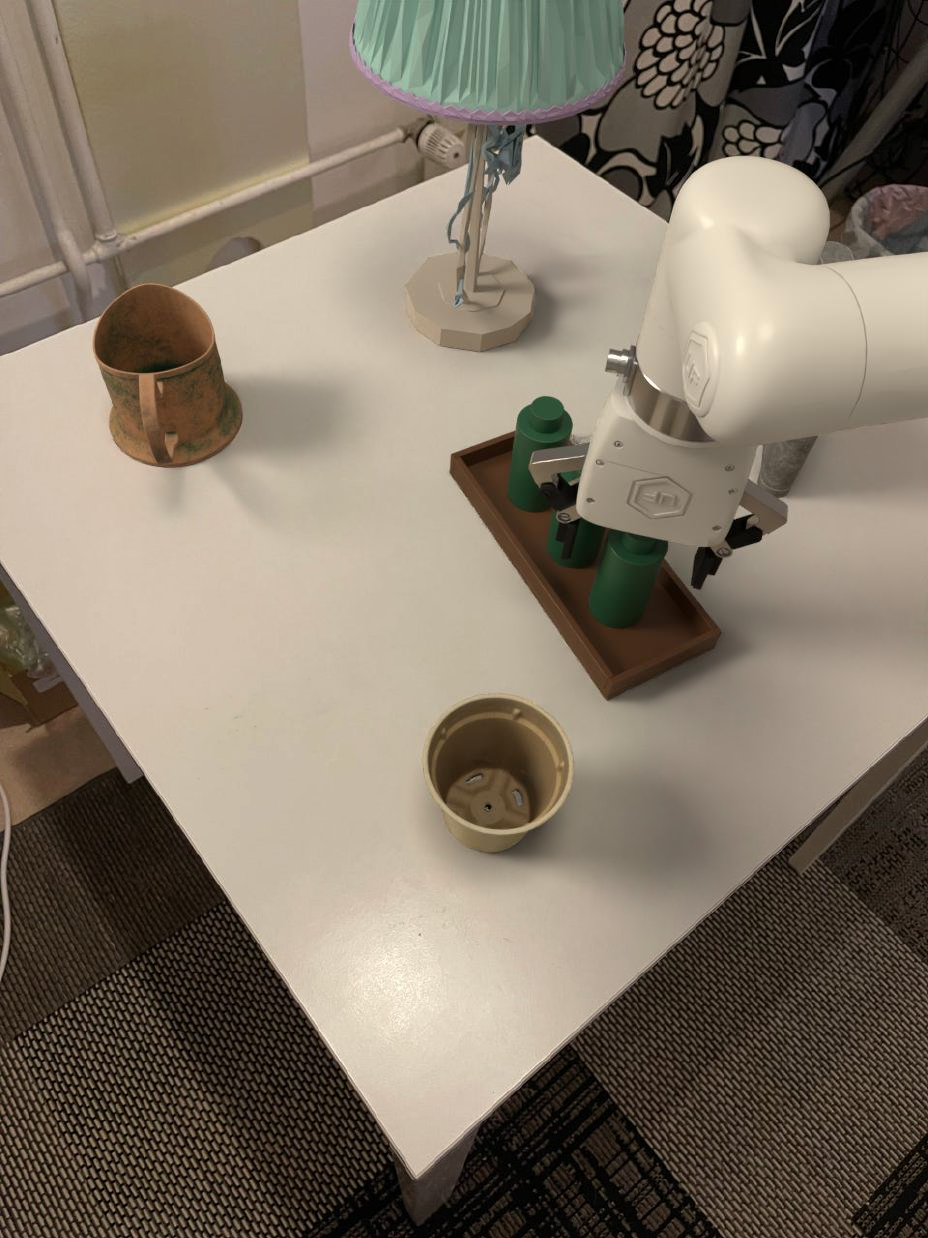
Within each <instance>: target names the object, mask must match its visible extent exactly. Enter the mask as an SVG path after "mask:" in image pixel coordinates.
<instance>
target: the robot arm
mask: <svg viewBox="0 0 928 1238" xmlns="http://www.w3.org/2000/svg"><path fill="white" fill-rule="evenodd" d="M830 227H831V212H830V208H829V204H828V201H827V198H826V196H825V195H824V193H823V191H822V190H821V189H820V188H819V186H818V185H817V183H815V182H814V181H813V180H812V179H811V178H810V177H809V176H808V175H806V174H805V173H804V172H802V171H801V170H799V169H797V168H796V167H793V166H790V165H789V164H786V163H784V162H781V161H778V160H776V159H773V158H768V157H763V156H762V157H761V156H754V155H733V156H728V157H722V158H719V159H715V160H712V161H710V162H708V163H706V164H704V165H702V166H701V167H699V168H698V169H697V170H695V171H694V172H693V173H691V175H690V176H689V177H688V178H687V179H686V180H685V182H684V183H683V185H682V186H681V187H680V190H679V192H678V193H677V196H676V198H675V200H674V203H673V206H672V211H671V214H670V218H669V221H668V225H667V229H666V233H665V237H664V240H663V245H662V247H661V251H660V255H659V259H658V263H657V267H656V271H655V274H654V279H653V281H652V286H651V289H650V293H649V296H648V301H647V306H646V308H645V311H644V316H643V319H642V323H641V326H640V331H639V333H638V336H637V340H636V342H635V345H633V344H631V345H630V347H629V349H627V348H622V350H619V349H614V348H609V351H608V356H607V360H606V364H605V368H604V372H605V373H606V372H607V373H611V374H615V375H616V377H617V379H616V380H615V383H614V384H613V386H612V388H611V390H610V392H609V393H608V396H607V397H606V400H605V402H604V404H603V407H602V409H601V411H600V413H599V416H598V418H597V421H596V423H595V426H594V428H593V429H594V430H593V432H592V435H591V438H590V441H589V442H586V443H578V444H574V445H571V446H564V447H557V448H550V449H543V450H537V451H534V452H533V453H532V456H531V460H530V463H529V467H528V468H529V470H530V472H531V474H532V476H533V478H534V480H535V482H536V484H538V486H539V488H540V489H539V494H540V495H541V496H542V497H543V498H544V499H545V500H546V501H547V502H548V503H549V504H550V505H551V506H552V507H553V509H554V510H555V511H556V512H557V514H556V518H557V520H558V521H559V525H558V530H557V534H556V539H555V541H559V542H564V547H563V551H562V555H561V559H564V560H568V559H571V555H572V551H573V547H574V543H575V539H576V535H577V531H578V527H579V523H580V518H581V517H582V518H584V519H585V520H587V521H589V522H591V523H594V524H596V525H600V526H603V527H607V528H612V529H616V530H620V531H624V532H629V533H633V534H638V535H642V536H647V537H651V538H656V539H661V540H665V541H668V542H670V543H676V544H680V545H685V546H690V547H697V549H696V551H695V553H694V556H693V557H694V558H693V565H692V573H691V579H690V586H691V587H692V589H694V590H699V591H700V590H702V587H703V585H704V583H705V582H706V579H707V577H708V576H713V577H714V576H716V574H717V572H718V569H719V568H720V566H721V564H722V562H723V560H724V559H727V558H730V557H732V555H733V553H734V551H735V550H739V549H741V548H743V547H744V548H745V547H748V546H751V545H754V544H757V543H760V542H761V541H762V540H763V537H764V536H765V535H770V534H771V533H773V532H774V531H776V530H778V529H780V528H781V527H783V526H784V525H786V524H787V523H788V516H789V506H788V504H787V503H786V502H784V501H783V500H781V499H780V498H777V497H775V496H774V495H772V494H771V493H769V492H768V491H766V490H765V489H763V488H762V487H760V486H759V485H757V482H756V483H755V482H754V481H753V480H751V479H749V478H750V475H751V471H752V468H753V464H754V461H755V458H756V455H757V450H758V447H759V446H763V445H764V444H770V443H775V442H781V441H788V440H794V439H800V438H806V437H812V436H818V435H819V436H823V435H827V434H830V433H831V434H832V433H837V432H844V431H849V430H856V429H863V428H867V427H873V426H874V427H875V426H879V425H885V424H894V423H899V422H901V423H902V422H908V421H914V420H920V419H921V420H922V419H928V251H922V252H921V251H920V252H914V253H912V252H911V253H905V254H895V255H894V254H893V255H884V256H876V257H868V258H861V259H860V258H859V259H855V260H852V261H845V262H837V263H829V264H821V265H817V262H818V260H819V258H820V256H821V253H822V251H823V248H824V246H825V242H827V240H828V235H829V233H830ZM819 436H818V437H819ZM579 470H582V473H581V477H579V478H577V479H575V480H573V481H571V482H569V483H568V482H567V481H566V480H565V479H564V478H563V477H562V476H561V475H560V474H559V473H563V472H571V471H579ZM739 507H741V508H743V509H745V510H746V511H748V512H749V513H750V514H746V515H744V516H741V517H737V518H735V517H736V514H737V512H738V509H739Z"/></svg>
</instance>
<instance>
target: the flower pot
mask: <svg viewBox="0 0 928 1238" xmlns="http://www.w3.org/2000/svg"><path fill="white" fill-rule="evenodd" d="M571 744H572V743H571V742H570V741H569V737H568V736H567V734H566V732H565V730H564V729H563V728H562V726H561V724H560V723H559V722H558V721H557V720H556V718H555V717H554V716H553V715H552V714H550V713H549V712H548V711H546V710H545V709H544V708H543V707H542V706H540V705H538V703H535V702H534V701H532V700H529V699H527V698H524V697H523V696H518V695H514V694H509V693H501V692H491V693H482V694H481V693H480V694H478V695H474V696H470V697H467V698H465V699H463V700H461V701H459V702H456V703H455V704H453V705H451V706H450V707H449V708H448V709H446V710H445V711H444V712H443V713H442V714H441V715H440V716H439V717H438V719H437V720H436V721H435V722H434V724H433V725H432V726H431V728H430V729H429V732H428V733H427V737H426V739H425V742H424V746H423V750H422V769H423V770H422V771H423V776H424V780H425V783H426V786H427V789H428V791H429V792H430V795H431V797H432V799H433V800H434V801H435V803H436V804H437V805H438V807H439V808H440V809H441V810H442V814H443V818H444V819H443V820H444V822H445V825H446V827H447V829H448V831H449V832H450V833H451V835H452V836H453V837H454V838H455V839H456V841H458V842H459V843H460V844H461V845H464V846H466V847H468V848H470V849H472V850H475V851H478V852H481V853H498V852H502V851H505V850H508V849H510V848H512V847H514V846H515V845H516V844H518V843H519V842H520V841H521V840H522V839H523V838H524V837H525V836H526V834H527V833H528V832H530V831H532V830H535V829H537V828H539V827H540V826H542V825H544V824H545V823H546V822H548V821H549V820H550V819H551V818H553V817H554V816H555V815H556V814H557V813H558V811H559V810H560V809H561V808H562V806H563V805H564V803H565V802H566V800H567V798H568V796H569V794H570V792H571V789H572V786H573V782H574V781H573V780H574V777H575V756H574V752H573V749H572V745H571ZM479 775H482V778H481V779H478V780H474V781H471V782H469V783H468V781H469V780H470V779H472V778H474V777H476V776H479ZM514 791H518V792H519V794H520V796H521V800H522V804H519V802H518V801H517V799H516V796H515V794H514V793H513V792H514ZM487 805H489V806H490V809H487V808H486V806H487Z"/></svg>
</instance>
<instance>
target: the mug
mask: <svg viewBox="0 0 928 1238" xmlns="http://www.w3.org/2000/svg"><path fill="white" fill-rule="evenodd" d="M92 351H93V355H94V358H95V361H96V363H97V364H98V368H99V371H100V374H101V377H102V380H103V382H104V384H105V387H106V389H107V392H108V394H109V397H110V400H111V404H112V407H111V409H110V412H109V415H108V416H109V417H108V427H109V432H110V434H111V437H112V439H113V442H114V443H115V444H116V446H117V447H118V449H120V450H121V452H122V453H124V454H125V455H126V456H127V457H129V458H131V459H133V460H135V461H137V462H139V463H142V464H145V465H149V466H153V467H162V468H177V467H184V466H190V465H195V464H197V463H200V462H203V461H206V460H208V459H210V458H212V457H214V456H216V455H218V454H219V453H221V451H223V450H225V448H227V447H228V446H229V445H230V444H231V443H232V442H233V440H234V439H235V438H236V436H237V434H238V433H239V430H240V428H241V426H242V422H243V408H242V401H241V400H240V397H239V395H238V394H237V392H236V390H235V389H234V388H233V387H232V386H231V385H230V384H229V383H228V382H226V380H225V375H224V370H223V365H222V359H221V356H220V352H219V347H218V344H217V342H216V334H215V329H214V325H213V323H212V321H211V319H210V316H209V315H208V314H207V312H206V311H205V310H204V308H203V307H202V306H201V305H200V304H199V303H198V302H197V301H196V300H195V299H193V298H192V297H190V296H189V295H187V294H185V293H184V292H182V291H181V290H179V289H177V288H174V287H171V286H169V285H166V284H162V283H155V282H147V283H142V284H138V285H135V286H133V287H131V288H129V289H127V290H125V291H123V292H122V293H121V294H120V295H119V296H116V298H115V299H114V300H113V301H111V302H110V304H108V305H107V307H106V308H105V309H104V310H103V312H102V314H101V315H100V317H99V319H98V320H97V323H96V325H95V327H94V331H93V336H92Z"/></svg>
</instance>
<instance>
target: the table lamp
mask: <svg viewBox="0 0 928 1238" xmlns="http://www.w3.org/2000/svg"><path fill="white" fill-rule="evenodd" d="M623 3H624V2H623V0H358V1H357V6H356V12H355V16H354V19H353V21H352V22H351V28H350V30H349V36H348V46H349V53H350V57H351V60H352V61H353V64H354V66H355V68H356V70H357V71H358V72H359V73H360V75H361V76H362V77H363V78H364V79H365V81H366V82H367V83H368V84H370V85H371V87H373V88H374V89H376V90H377V91H378V92H379V93H382V94H383V95H385V96H386V97H387V98H389V99H390V100H393V101H394V102H396V103H398V104H401V105H403V106H405V107H407V108H410V109H412V110H415V111H416V112H420V113H423V114H426V115H430V116H434V117H435V118H441V119H445V120H448V121H449V120H450V121H455V122H459V123H464V124H467V132H468V139H469V147H470V152H469V159H468V165H467V172H466V178H465V185H464V192H463V196H462V198H461V199H460V201H459V202H458V204H457V209H456V211H454V213H453V215H452V216H451V217H450V219H449V221H448V223H447V225H446V228H445V229H446V235H447V240H448V244H455V247H456V250H457V251H455V252H449V253H444V254H439V255H433V256H427V258H426V259H425V261H424V262H423V263H422V264H421V265H420V267H419V268H418V269H417V270H416V271H415V272H414V274H413V275H412V276H411V277H410V278H409V280H407V282H406V283H405V312H406V314H407V316H408V317H409V320H410V321H411V323H412V324H413V326H414V328H415V330H416V331H417V332H418V333H420V334H421V335H423V336H425V337H426V338H428V339H429V340H431V341H432V342H433V343H435V344H436V345H438V346H440V347H446V348H452V349H459V350H466V351H472V352H478V353H481V352H484V351H487V350H491V349H494V348H498V347H501V346H503V345H508V344H511V343H513V342H516V341H517V340H518V339H519V337H520V336H521V335H522V333H523V332H524V331H525V329H526V328H527V327H528V325H529V324H530V322H531V321H533V319H534V305H535V285H534V284H533V282H532V281H531V280H530V279H529V278H528V277H527V276H526V275H525V273H524V272H523V271H522V270H520V268H519V267H518V266H517V264H515V262H513V260H510V259H507V258H503V257H500V256H496V255H492V254H488V253H485V252H484V251H485V246H486V237H487V232H488V227H489V221H490V215H491V211H492V203H493V194H494V193H495V192H496V191H497V189H498V186H499V184H500V181H501V179H500V175H501V176H502V178H503V180H504V183H505V185H506V186H510V184H512V183H513V181H514V180H516V178H518V176H519V175H520V174H521V170H522V164H523V163H522V161H523V159H522V157H523V156H522V155H523V153H522V152H523V146H524V145H523V144H524V136H525V135H526V129H527V125H537V124H542V123H549V122H553V121H558V120H562V119H565V118H569V117H573V116H575V115H577V114H580V113H583V112H585V111H587V110H589V109H591V108H593V107H595V106H597V105H599V104H600V103H601V102H603V101H604V100H605V99H607V98H608V97H609V96H611V94H612V93H614V91H615V90H616V89H617V88H618V86H619V85H620V83H621V81H622V79H623V77H624V75H625V71H626V70H627V68H626V67H627V61H628V55H627V48H626V41H625V22H626V21H625V15H624V14H625V13H624V4H623ZM504 126H514V127H515V129H514V132H512V133H510V134H508V132H507V129H506V128H505V127H504ZM500 132H502V133H500ZM473 138H474V140H473ZM495 149H498V153H496V152H494V151H493V150H495ZM486 164H487V165H486ZM486 166H487V167H486ZM486 175H487V180H486V182H487V183H486V185H485V177H486ZM461 212H462V217H461V223H460V231H459V240H458V239H452V230H453V224H454V222H455V220H456V218H457V217H458V215H459V214H460V213H461Z"/></svg>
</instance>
